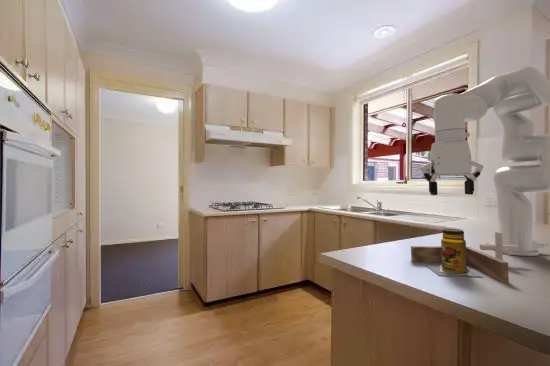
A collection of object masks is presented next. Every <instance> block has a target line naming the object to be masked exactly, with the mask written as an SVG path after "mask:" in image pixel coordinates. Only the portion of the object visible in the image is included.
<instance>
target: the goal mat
mask: <svg viewBox="0 0 550 366" xmlns="http://www.w3.org/2000/svg"><path fill="white" fill-rule="evenodd" d="M424 266H425V267H426V268H428V269H429V270H431V271H432V272H434V273H435V274H436V275H437V276H439V277H456V278H457V277H458V278H459V277H460V278H465V277H467V278H484V277H483V276H482V275H481V274H478V273H477V272H475V271H473V270H472V269H470V268H469V270H470V274H471V276H469V275H459V274H450V273H445V272H440V264H424Z"/></svg>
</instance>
